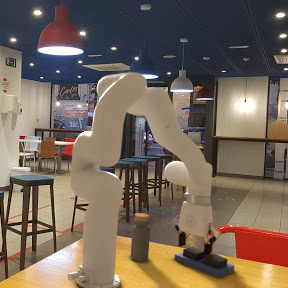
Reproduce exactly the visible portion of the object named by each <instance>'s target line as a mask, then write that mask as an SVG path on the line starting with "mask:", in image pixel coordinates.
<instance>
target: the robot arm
mask: <svg viewBox="0 0 288 288" xmlns="http://www.w3.org/2000/svg"><path fill="white" fill-rule="evenodd" d="M96 93H97V96H98V98H99V100H98V102H97V103H96V106H95V108H94V111H93V116H92V117H93V118H92V123H91V124H92V125H91V130H87V131H84V132H81V133H80V134H79V135H78V136H77V137H76V139H75V141H74V143H73V145H72V154H71V165H70V188H71V190H72V192H73V194H74V195H75V196H76V197H78V198H80V199H82V200H84V201H87V202H88V205H87V207H86V210H85V212H84V217H83V226H82V227H83V228H82V248H81V249H82V250H81V265H79V266H78V269H77V270H76V271H75V272H74V271H73V272H70V273H67V279H68V281H70V282H71V281H74V280H75V282H76V284H77V285H79V286H80V287H81V288H119V286H120V284H121V279H120V277H119V275H118V274H116V261H117V260H116V259H117V258H116V255H117V241H118V224H119V212H120V207H121V203H122V199H123V195H124V186H123V183H122V181H121V179H120V178H119V177H118V176H117V175H115V174H114V173H111V172H109V171H106V170H102V169H100V167H105V168H106V167H107V168H109V167H114V166H116V165H117V164H118V162H119V161H120V159H121V154H122V143H123V133H124V132H123V131H124V123H125V118H126V116H127V115H126V114H130V115H135V116H144V118H145V120H146V121H147V124H148V127H149V129H150V131H151V134H152V137H153V139H154V142H156V143H157V144H158V145H159V146H161V147H162V148H164V149H166V151H169V152H170V153H172V154H174V155H175V156H176V157H177V158H178V159H179V160H180V161H179V160H175V161H171V162H169V163H168V164H167V165H166V166H165V168H164V171H163V176H164V178H165V179H166V180H167V182H169V183H171V184H173V185H177V186H180V187H185V188H186V191H185V192H186V193H185V192H184V193H183V198H185V201H183V202H182V205H181V209H180V214H179V217H178V218H174V219H172V222H173V224H174V228H175V230H176V233H177V235H178V242H177V243H178V244H177V245H178V247H180V248H181V247H184V246H186V244H187V234H190V235H192V236H195V237H199V238H203V240H204V242H205V243H204V245H203V251H204V255H209V254H212V253H213V244H214V243H215V242H216V241H218V240H219V238H220V236H221V235H222V232H221V231H220V230H219V229H218V228H217V227H215V226H214V219H213V217H214V216H213V207H212V205H211V193H212V192H211V191H212V181H213V165H212V164H211V163H209V162H207V161H206V158H205V155H204V153H203V152H202V150H201V148H199V146H198V145H197V144H196V143H195V142H194V141H193V139H191V138H190V137H189V136H188V135H187V134H186V133H185V132H184V131H183V130H182V128H181V125H180V121H179V120H178V117H177V114H176V112H175V108H174V105H173V103H172V101H171V98H170V95H169V93H168V92H167V91H166V90H165V89H164V88H161V87H156V86H155V87H154V86H153V87H148V82H147V78H146V77H145V75H143V74H142V73H139V72H133V71H132V72H130V71H129V72H123V73H117V74H108V75H106V76H103V77H102V78H101V79H100V80H99V81H98V84H97V86H96ZM212 234H213V236H212Z"/></svg>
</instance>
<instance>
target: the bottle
mask: <svg viewBox="0 0 288 288" xmlns="http://www.w3.org/2000/svg"><path fill="white" fill-rule="evenodd" d="M149 218H150V215H149V214H147V213H143V212H136V213H134V218H133V223H134V225H133V226H132V228H131V238H130V239H131V240H130V259H131V260H132V261H133V262H139V263H144V262H147V261H148V260H149V252H150V238H151V237H150V235H151V233H150V232H151V228H150V226H148V225H150V220H149Z"/></svg>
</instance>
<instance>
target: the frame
mask: <svg viewBox="0 0 288 288" xmlns="http://www.w3.org/2000/svg"><path fill="white" fill-rule="evenodd" d="M174 261H176V262H178V263H180V264H183V265H186V266H188V267H191V268H193V269H195V270H198V271H201V272H203V273H206V274H208V275H211V276H213V277H216V278H217V279H218V278H222V277H224V276H227V275H229V274H233V273H234V272H235V265H234V264H231V263H229V262H227V265H226V266H224V267H221V268H218V269H216V268H214V267H211V266H209V265H206V264H204V259H201V260H197V261H196V260H193V259H190V258H188V257H185V256H183V251H182V252H178V253H174Z"/></svg>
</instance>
